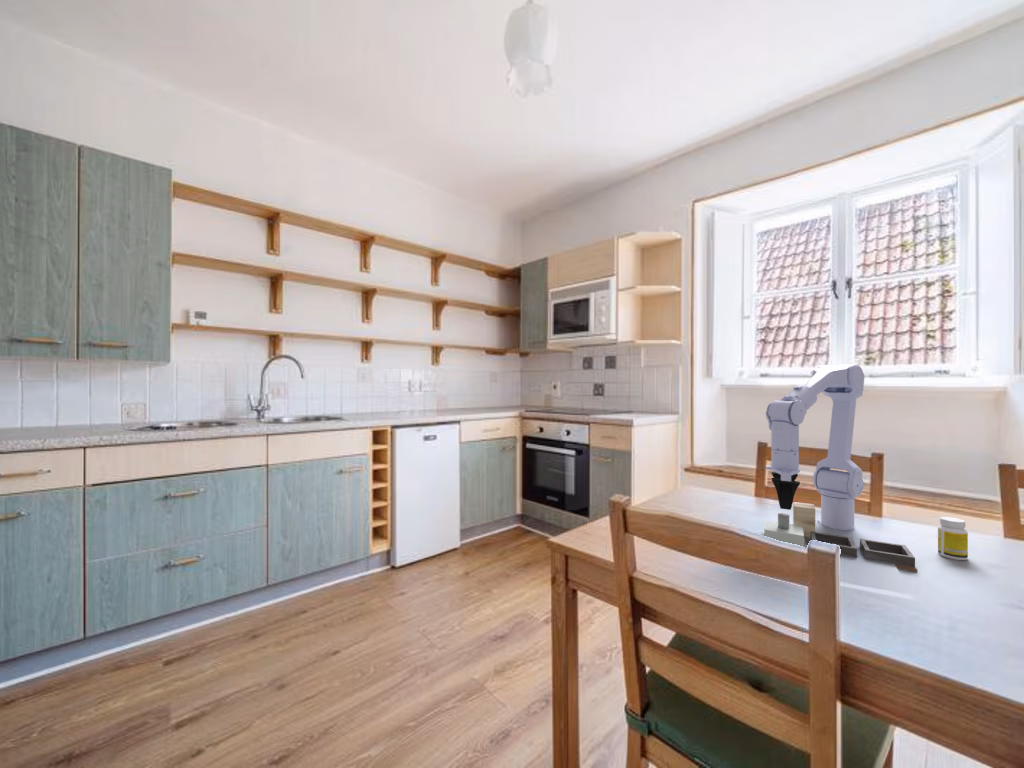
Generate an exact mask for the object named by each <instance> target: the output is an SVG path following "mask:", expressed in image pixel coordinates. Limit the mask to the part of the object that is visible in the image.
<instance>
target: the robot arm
mask: <svg viewBox="0 0 1024 768" xmlns="http://www.w3.org/2000/svg"><path fill="white" fill-rule="evenodd" d="M811 376H812V377H811V378H810V379H808V381H807V383H805V384H804V385H795V386H794V387H793V389H791V390H790V391H789V392H788V393H787V394H785V395H784V396H783V397H782V398H781V399H779V400H773V401H772V402H770V403H769V404H768V405H767V407H766V411H765V418H766V420H767V422H768V428H769V430H771V433H770V434H771V435H770V436H771V439H770V440H771V444H770V446H771V448H770V449H771V450H770V451H771V455H770V456H771V457H770V458H771V465H767V464H766V465H765V469H766V470H771V476H773V477H771V482H772V485H774V488H775V490H776V494H777V500H778V505H779V507H780V509H781V510H788V511H789V510H790V511H791V510H792V507H793V502H794V497H795V494H796V491H797V489H798V488H799V486H800V484H801V482H800V481H798V480H797V478H798V476H799V475H798V474H799V473H800V472H801V468H800V451H799V450H800V439H799V438H800V425H801V424H803V422H804V419H805V416H806V414H807V411H808V410H809V409H811V407H813V406H814V404H816V403H817V400H818V395H819V394H821V393H822V394H823V395H824V396H825V397H828V398H830V399H831V400H832V407H831V418H830V429H829V438H828V446H827V447H828V448H827V457H826V458H823V459H821V460H819V461H817V463H816V466H815V471H814V473H813V476H812V483H813V485H814V487H815V489H816V490H817V493H818V494H820V496H821V498H820V510H821V511H820V516H821V517H818V518H817V521H818V524H821V525H822V526H824V527H826V528H830V529H834V530H839V531H840V530H841V531H853V530H855V529H856V525H855V498H858V497H859V496H860V495H862V493H863V490H864V480H863V479H864V478H863V469H861V467H859V466H858V465H857V464H856V463H855V462H854V461H852V460H851V459H852V458H851V455H852V449H853V437H854V428H855V427H854V425H855V416H856V407H857V406H856V405H857V399H859V398H861V397H862V396H863V392H864V385H865V373H864V371H863V369H862V367H861V366H860V365H859V364H856V363H853V364H838V365H837V364H836V365H835V364H834V365H822V364H821V365H820V364H819V365H817V366H816V367H815V368H814V369H813V370H812V375H811ZM836 469H837V470H836ZM842 470H844V471H842Z"/></svg>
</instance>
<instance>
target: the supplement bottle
mask: <svg viewBox="0 0 1024 768" xmlns="http://www.w3.org/2000/svg"><path fill="white" fill-rule="evenodd" d="M939 524H940V525H937V553H938V555H940V556H942V557H944V558H948V559H951V560H955V561H956V560H957V561H966V560H968V559H969V557H968V556H969V548H968V547H969V545H968V544H969V542H968V541H969V537H968V536H969V532H968V530H967V529H966V521H965V520H964V519H961V518H957V517H949V516H941V517H940V518H939Z"/></svg>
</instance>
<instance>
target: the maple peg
mask: <svg viewBox="0 0 1024 768" xmlns="http://www.w3.org/2000/svg"><path fill="white" fill-rule="evenodd" d="M792 507H793V509H792V511H793V516H792V517H793V518H792V519H793V521H792V523H793V524H792V525H799V526H803V533H804V538H805V537H807V538H810V531H811V532H816V505H815V504H814V503H813V504H812V503H805V502H798V501H797V502H796V501H793V503H792Z"/></svg>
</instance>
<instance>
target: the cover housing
mask: <svg viewBox="0 0 1024 768" xmlns="http://www.w3.org/2000/svg"><path fill="white" fill-rule="evenodd" d="M763 531H764V536H767V537H770V538H773V539H776V540H779V541H783V542H788V543H792V544H797V545H800V546H803V547H804V538H805V536H804V533H803V526H799V525H793V524H792V523H790V514H787V513H781V512H780V513H777V522H776V521H770V520H765V521H764V529H763Z"/></svg>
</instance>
